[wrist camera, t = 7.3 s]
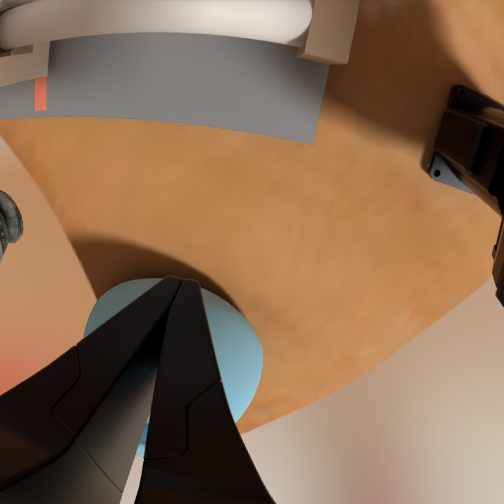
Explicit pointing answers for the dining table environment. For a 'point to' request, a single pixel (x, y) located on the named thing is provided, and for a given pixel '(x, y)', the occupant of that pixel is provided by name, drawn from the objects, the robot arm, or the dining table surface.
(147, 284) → the sugar bowl
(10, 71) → the collar
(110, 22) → the pipe stand
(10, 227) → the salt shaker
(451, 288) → the dining table surface
